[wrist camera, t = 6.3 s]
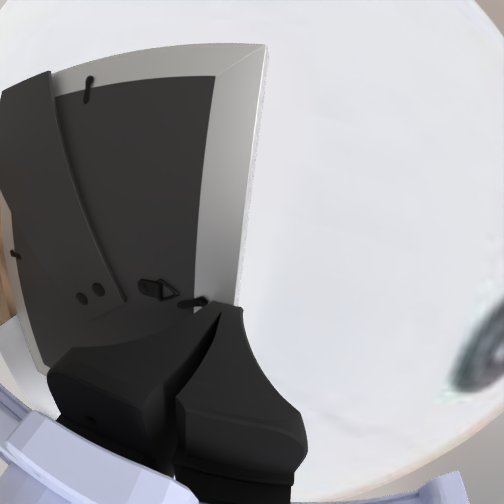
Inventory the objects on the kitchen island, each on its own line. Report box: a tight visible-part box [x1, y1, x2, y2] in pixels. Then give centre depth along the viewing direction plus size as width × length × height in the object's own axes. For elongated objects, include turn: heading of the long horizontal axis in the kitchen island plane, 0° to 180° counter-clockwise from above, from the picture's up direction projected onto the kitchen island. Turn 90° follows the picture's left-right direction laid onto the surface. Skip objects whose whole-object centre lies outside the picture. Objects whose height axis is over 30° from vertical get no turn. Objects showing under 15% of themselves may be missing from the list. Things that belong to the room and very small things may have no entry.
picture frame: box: [0, 43, 269, 376], centre depth 12 cm, size 16×3×21 cm
